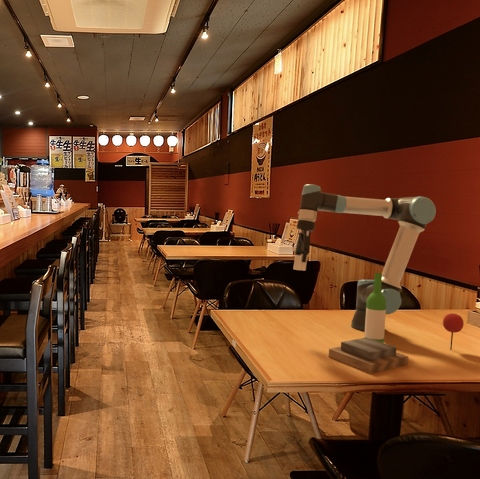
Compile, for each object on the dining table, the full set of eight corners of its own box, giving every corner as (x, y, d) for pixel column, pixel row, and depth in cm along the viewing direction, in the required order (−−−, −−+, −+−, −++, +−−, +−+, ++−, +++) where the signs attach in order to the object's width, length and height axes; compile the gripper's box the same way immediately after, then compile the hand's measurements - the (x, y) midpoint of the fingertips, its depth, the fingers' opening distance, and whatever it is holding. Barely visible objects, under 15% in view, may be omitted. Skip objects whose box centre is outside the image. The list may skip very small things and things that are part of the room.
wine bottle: (373, 349, 186) (378, 275, 184) (359, 343, 193) (364, 272, 191) (387, 347, 190) (392, 274, 188) (373, 341, 197) (378, 271, 195)
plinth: (364, 349, 185) (365, 334, 185) (407, 364, 169) (408, 348, 169) (328, 356, 174) (329, 340, 174) (371, 373, 158) (372, 356, 157)
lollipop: (460, 353, 185) (463, 316, 184) (439, 350, 189) (442, 313, 188) (462, 349, 192) (464, 313, 191) (441, 345, 195) (444, 310, 194)
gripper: (293, 222, 210) (286, 268, 209) (303, 216, 185) (295, 269, 184) (309, 224, 210) (302, 271, 209) (321, 219, 185) (313, 272, 184)
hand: (299, 270), depth 197 cm, fingers open, 13 cm apart
